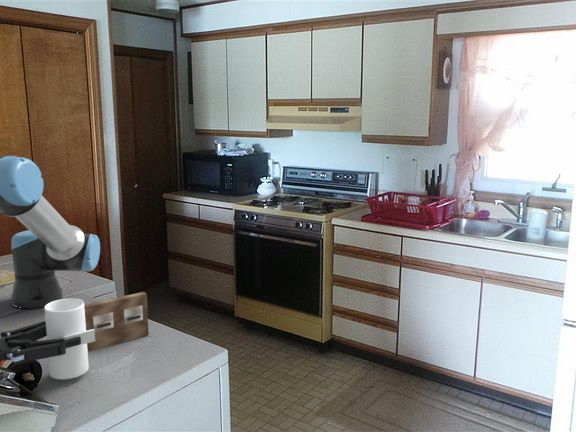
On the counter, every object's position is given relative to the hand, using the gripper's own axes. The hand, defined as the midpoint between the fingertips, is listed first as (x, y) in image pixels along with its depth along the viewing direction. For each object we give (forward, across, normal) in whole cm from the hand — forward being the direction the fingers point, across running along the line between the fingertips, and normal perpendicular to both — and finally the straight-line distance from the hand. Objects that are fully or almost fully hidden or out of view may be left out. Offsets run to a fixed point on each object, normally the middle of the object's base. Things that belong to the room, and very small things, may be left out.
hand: (87, 328), depth 120 cm
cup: (-5, 0, -9) cm, 10 cm away
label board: (+11, -14, -10) cm, 20 cm away
